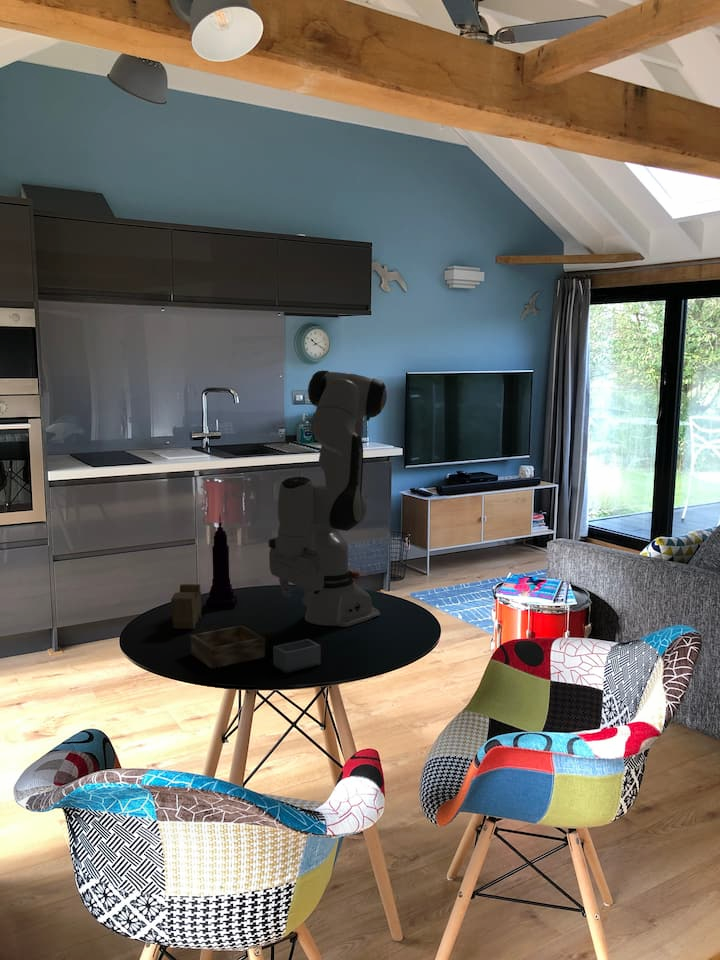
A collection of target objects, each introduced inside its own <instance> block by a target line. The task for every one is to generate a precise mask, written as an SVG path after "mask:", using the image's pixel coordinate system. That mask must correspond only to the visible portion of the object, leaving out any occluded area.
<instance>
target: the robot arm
mask: <svg viewBox="0 0 720 960" xmlns="http://www.w3.org/2000/svg"><path fill="white" fill-rule="evenodd" d="M307 394H308V395H307V396H308V400H309V402H310V403H311V405H313V406H314V407H316V409H315V412H314V416H313V419H312V420H313V421H312V426H311V429H312V434H313V436H314V439H315V440H316V441H317V442H318V443H319V445H320V446H321V447H320V451H319V457H318V464H319V466H320V468H321V470H323V472H324V473H323V474H324V481H325V485H321V484H313V482H312V480H311V479H310V478H308V477H304V476H294V477H289V478H286V479H284V480H283V481H281V482H280V485H279V491H278V498H277V499H278V501H277V518H278V521H279V525H278V531H277V536H276V537H272V538H270V539H268V541H267V542H268V543H267V544H268V548H269V554H268V555H269V558H268V559H269V571H270V573H271V575H272V576H275V577H276V578H279V579H278V581H279V585H280V586H281V587H280V588H281V593H282V596H283V597H286V598H287V597H292V589H291V588H290V583H292V584H293V585H295V586H298V587H301V588H302V589H303V593H304V596H303V597H301V605H303V606H305V607H307V608H306V612H305V616H304V620H305V621H306V622H307V623H310V624H313V625H316V626H317V625H319V626H331V627H332V626H334V627H342V628H345V627H350V626H354V625H357V624H360V623H363V622H367V621H369V620H372V619H371V618H373V617H376V616H379V615H380V616H381V613H380V610H379V609H377V608H375V607H373V601H372V597H371V595H370V594H369V593H368V592H367V591H366V590H364V589H363V588H362V587H360V586H359V585H358V584H356V583H355V582H354V580H359V579H360V577H361V573H359V572H357V571H351V570H349V546H348V543H347V541H346V540H345V538H343V536H342V534H341V532H340V531H344V532H345V531H346V532H347V531H349V530H351V529H353V528H354V527H357V526H359V525H361V524H362V522H363V521H364V520H365V517H366V514H367V508H368V507H367V504H366V503H367V502H366V500H365V498H364V496H363V495H362V487H363V486H362V485H363V483H362V482H363V469H364V445H363V435H364V416H365V418H366V419H365V420H366V422H369V421H370V419H371V418H375V417H377V416H379V414H381V412H382V410H383V409H385V406H386V403H387V399H388V398H387V397H388V395H387V394H388V393H387V389H386V384H385V383H384V382H383V381H382V380H379V379H377V378H375V377H373V378H370V377H367V376H363V375H360V374H356V373H346V372H337V371H329V370H318V371H317V372H315V373H313V374H312V376H311V379H310V381H309V383H308V386H307ZM380 616H379V617H380ZM376 618H377V617H376ZM368 619H369V620H368ZM373 619H374V618H373Z"/></svg>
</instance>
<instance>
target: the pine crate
mask: <svg viewBox="0 0 720 960" xmlns="http://www.w3.org/2000/svg"><path fill="white" fill-rule="evenodd" d="M189 641H190V655H191V656H193V657H194V658H196V659H198V660H199V661H200V662H202V663H203V664H204V665H206V666H207V667H209V668H210V669H212V668H214V669H217V668H216V667H218V668H222V667H221V666H223V667H225V666H226V667H227V666H231V665H235V663H236V664H240V663H244V662H249V661H253V660H257V659H263V658H266V644H267V643H266V642H267V641H266V638H265V637H264V636H262V635H260V634H258V633H257V632H256V631H253V630H251V629H250V628H248V627H246V626H244V625H242V624H240V625H237V626H231V627H225V628H221V629H216V630H210V631H205V632H201V633H195V634H190V635H189ZM230 664H231V665H230Z"/></svg>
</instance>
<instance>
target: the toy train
mask: <svg viewBox="0 0 720 960" xmlns="http://www.w3.org/2000/svg"><path fill="white" fill-rule="evenodd" d="M170 600H171V601H170V603H171V608H172V609H171V610H172V614H171V615H172V616H171V617H172V624H173V629H174V630H195V629H196V624H197V623H198V621H199V619H201V616H202V608H203V602H202V591H201V584H200V583H196V584H194V583H192V584H191V583H189V584H187V583H186V584H185V583H183V584H180V585H179V592H175V593H174V594H173V595H172V597H171V598H170ZM194 628H195V629H194Z"/></svg>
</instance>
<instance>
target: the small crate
mask: <svg viewBox="0 0 720 960" xmlns="http://www.w3.org/2000/svg"><path fill="white" fill-rule="evenodd" d="M321 651H322V650H321V644H320V643H319V644H318V643H317V642H315V641H313V640H311V639H309V638H305V639H301V640H295V641H291V642H287V643H283V644H282V643H281V644H278V645H274V646H272V655H273V656H272V657H273V658H272V661H273V667H274V666H275V667H274V668H275V669H278V670H279V669H280V670H279V671H281V672H283V673H284V674H288V673H289V674H290V673H292V672H296V671H297V672H298V671H300V670H304V669H309V668H313V667H317V666H316V665H318V666H321V665H320V664H322V663H321V659H322V658H321V655H322V654H321Z"/></svg>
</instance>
